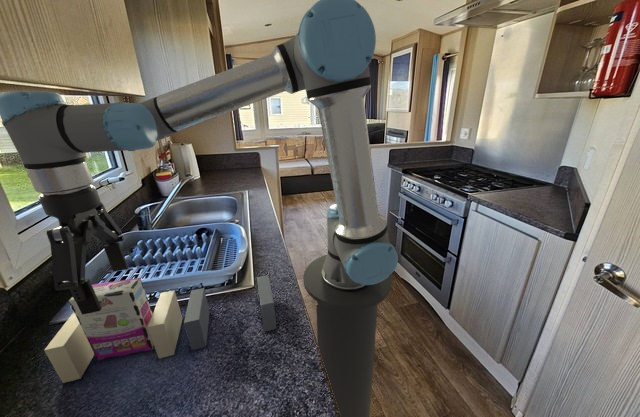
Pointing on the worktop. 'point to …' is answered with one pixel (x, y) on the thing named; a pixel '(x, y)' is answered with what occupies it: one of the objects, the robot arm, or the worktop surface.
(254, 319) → the worktop surface
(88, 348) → the cream book
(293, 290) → the worktop surface
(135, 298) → the candy bar box
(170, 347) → the cream book
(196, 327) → the grey book
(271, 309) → the grey book
